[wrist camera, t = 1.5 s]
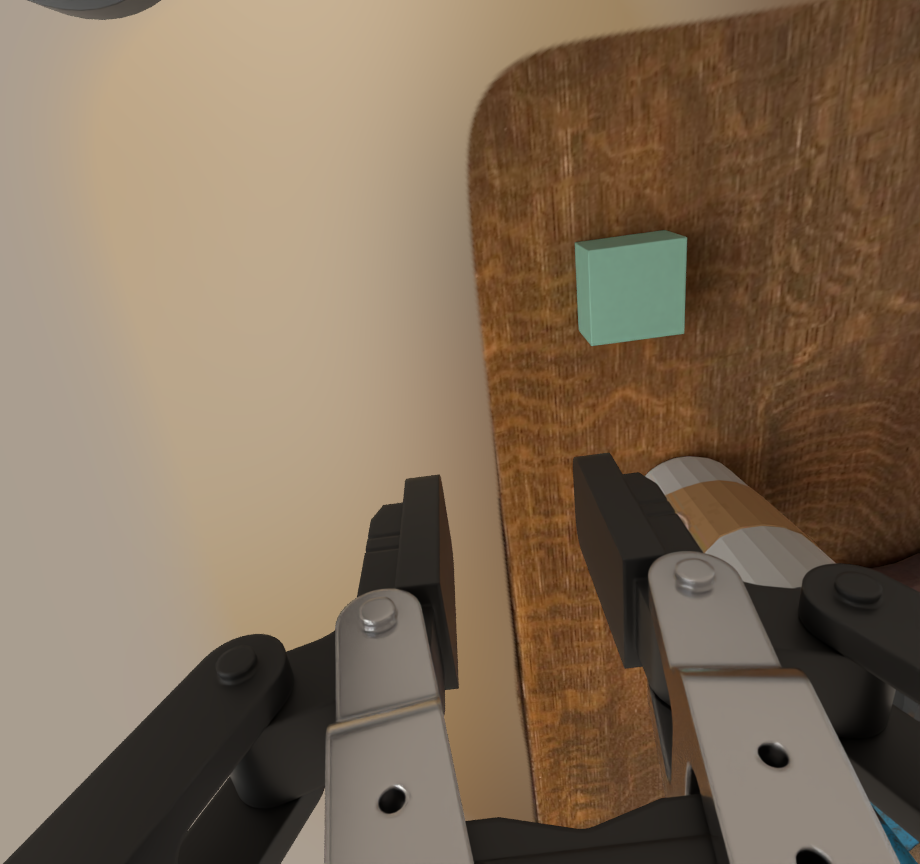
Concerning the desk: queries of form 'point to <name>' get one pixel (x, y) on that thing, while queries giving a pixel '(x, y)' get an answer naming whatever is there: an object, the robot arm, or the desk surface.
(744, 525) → the coffee cup
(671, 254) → the block
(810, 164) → the desk surface
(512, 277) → the desk surface
